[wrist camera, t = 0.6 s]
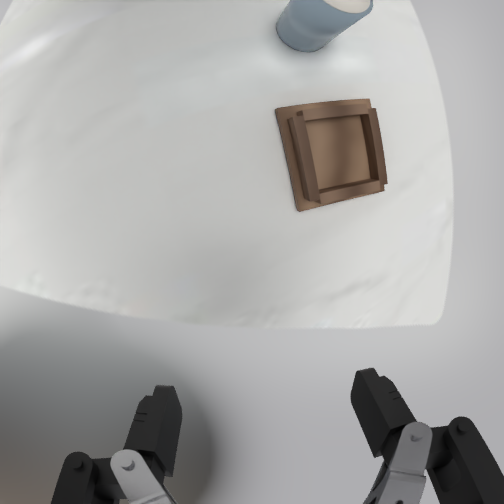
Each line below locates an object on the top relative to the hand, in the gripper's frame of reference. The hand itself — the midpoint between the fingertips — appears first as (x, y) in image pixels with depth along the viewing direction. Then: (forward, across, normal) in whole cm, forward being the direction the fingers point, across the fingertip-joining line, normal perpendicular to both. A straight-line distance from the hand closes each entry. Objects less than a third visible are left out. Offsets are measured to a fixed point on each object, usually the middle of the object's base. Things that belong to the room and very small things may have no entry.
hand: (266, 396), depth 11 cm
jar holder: (+23, -11, -11) cm, 28 cm away
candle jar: (+22, -8, -27) cm, 35 cm away
